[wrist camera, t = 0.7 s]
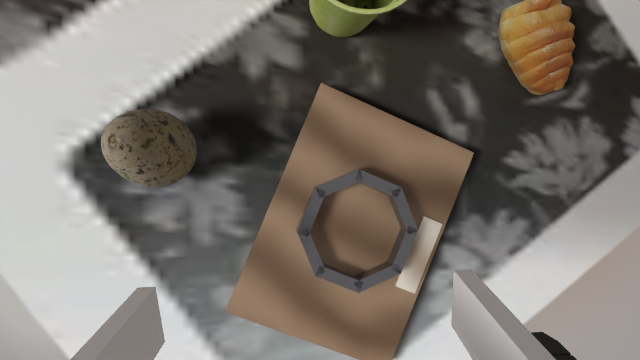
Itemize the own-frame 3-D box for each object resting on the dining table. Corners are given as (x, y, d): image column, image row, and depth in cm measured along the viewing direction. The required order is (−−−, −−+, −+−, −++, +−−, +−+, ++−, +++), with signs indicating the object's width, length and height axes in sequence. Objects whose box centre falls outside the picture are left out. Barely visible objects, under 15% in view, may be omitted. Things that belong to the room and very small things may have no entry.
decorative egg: (179, 198, 31) (134, 208, 21) (121, 161, 30) (46, 153, 20) (217, 144, 31) (190, 129, 22) (161, 106, 31) (106, 72, 21)
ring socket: (326, 156, 31) (328, 155, 30) (423, 198, 32) (430, 199, 31) (283, 260, 31) (283, 264, 29) (383, 298, 32) (388, 304, 30)
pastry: (569, 85, 36) (603, 75, 32) (513, 105, 35) (541, 96, 32) (544, -2, 36) (575, -22, 32) (486, 16, 35) (511, -3, 31)
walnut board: (319, 87, 33) (321, 82, 31) (465, 153, 34) (475, 152, 33) (227, 305, 32) (224, 312, 30) (383, 361, 34) (388, 371, 32)
